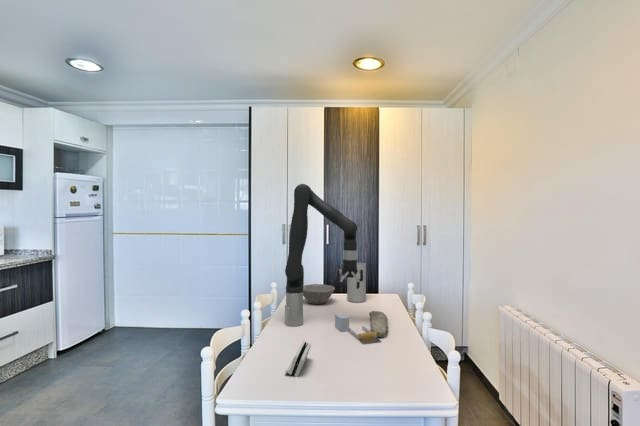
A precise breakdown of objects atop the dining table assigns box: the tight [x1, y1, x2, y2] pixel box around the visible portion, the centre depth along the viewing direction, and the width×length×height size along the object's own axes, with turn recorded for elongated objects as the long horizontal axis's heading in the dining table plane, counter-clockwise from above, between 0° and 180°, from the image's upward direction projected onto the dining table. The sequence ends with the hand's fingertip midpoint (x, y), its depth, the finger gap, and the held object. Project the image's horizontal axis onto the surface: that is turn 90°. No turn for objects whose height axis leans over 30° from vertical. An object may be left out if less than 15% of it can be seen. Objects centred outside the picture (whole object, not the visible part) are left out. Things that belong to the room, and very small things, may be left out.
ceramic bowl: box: [303, 283, 335, 305], centre depth 227 cm, size 22×23×10 cm
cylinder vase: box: [346, 261, 367, 304], centre depth 233 cm, size 12×12×25 cm
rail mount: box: [347, 325, 382, 345], centre depth 166 cm, size 9×18×3 cm, turn 19°
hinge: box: [284, 340, 312, 378], centre depth 134 cm, size 17×5×10 cm, turn 171°
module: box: [334, 312, 350, 333], centre depth 176 cm, size 4×8×7 cm, turn 19°
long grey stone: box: [368, 310, 389, 338], centre depth 181 cm, size 35×5×10 cm
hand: (349, 288), depth 183 cm, fingers open, 8 cm apart
